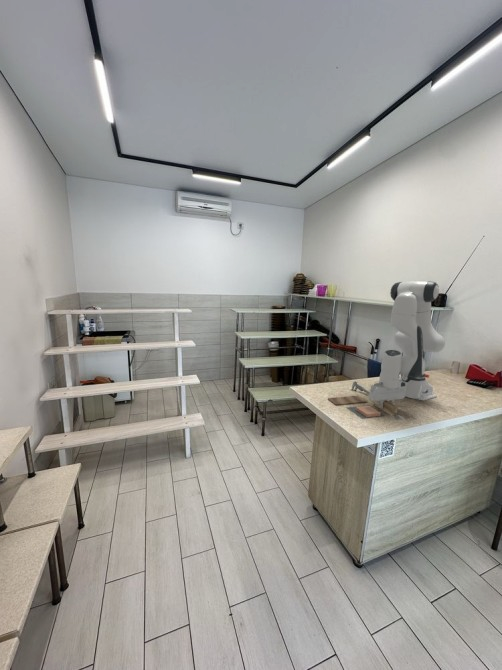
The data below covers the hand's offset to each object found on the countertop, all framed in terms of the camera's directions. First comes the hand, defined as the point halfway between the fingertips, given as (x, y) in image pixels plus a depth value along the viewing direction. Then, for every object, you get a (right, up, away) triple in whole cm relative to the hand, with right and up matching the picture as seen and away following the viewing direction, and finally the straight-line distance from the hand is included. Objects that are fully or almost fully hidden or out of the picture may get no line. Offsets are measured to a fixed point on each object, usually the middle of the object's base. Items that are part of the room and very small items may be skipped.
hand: (385, 407), depth 132 cm
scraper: (0, -2, -2) cm, 3 cm away
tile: (-12, 0, -1) cm, 12 cm away
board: (-16, +1, +9) cm, 18 cm away
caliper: (0, +1, +19) cm, 19 cm away
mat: (-12, -2, -3) cm, 12 cm away
